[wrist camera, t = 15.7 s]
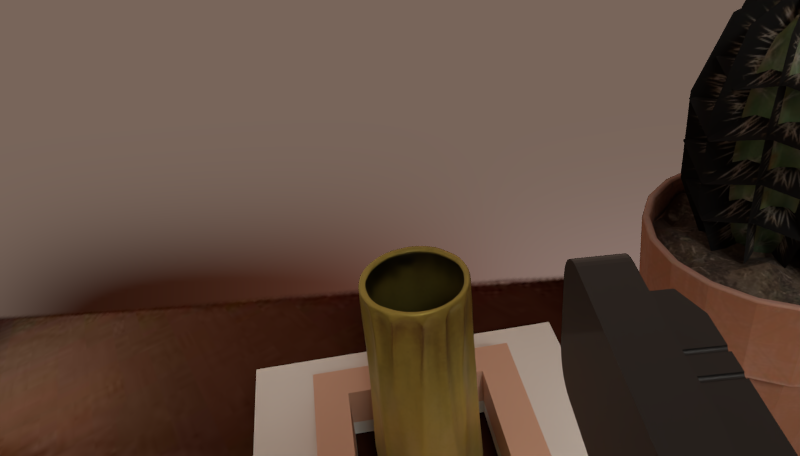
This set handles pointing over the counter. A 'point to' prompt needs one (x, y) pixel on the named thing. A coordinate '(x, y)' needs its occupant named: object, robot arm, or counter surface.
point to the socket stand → (352, 408)
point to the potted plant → (741, 203)
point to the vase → (421, 353)
